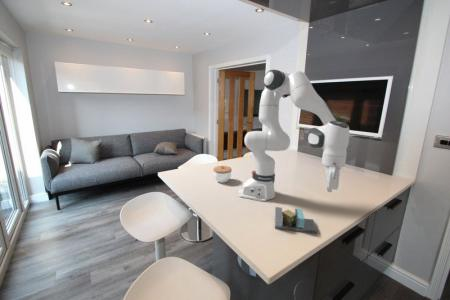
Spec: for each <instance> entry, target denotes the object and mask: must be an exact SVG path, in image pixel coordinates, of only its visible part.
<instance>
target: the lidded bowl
mask: <svg viewBox="0 0 450 300" xmlns="http://www.w3.org/2000/svg"><path fill="white" fill-rule="evenodd" d="M232 170H233V169H232V167H231V166H227V165H217V166H214V167H213V177H214V179H215V180H216V181H217V182H218V183H220V184H223V183H228V181H229V180H230V179H231V176H232Z"/></svg>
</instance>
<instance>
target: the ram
mask: <svg viewBox="0 0 450 300" xmlns="http://www.w3.org/2000/svg"><path fill="white" fill-rule="evenodd" d="M294 213H295V214H297V215H296V226H297V227H299V228H304V221H305V219H306V218H305V215H304V212H303V209H301V208H295V210H294Z"/></svg>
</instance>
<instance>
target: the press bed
mask: <svg viewBox="0 0 450 300" xmlns="http://www.w3.org/2000/svg"><path fill="white" fill-rule="evenodd" d="M282 212H283V207H278V206H275V208H274V228H275V229H276V230H285V231H292V232H300V233H301V232H302V233H311V234H316V235H317V234H318V228H317V227H316V224H315V220H314V219H312V218H305V221H304V228H299V227H297V226H296V223H295V224H292V225H290V226H289V225H288V224H286V223H285V222H283V214H282Z"/></svg>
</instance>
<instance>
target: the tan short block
mask: <svg viewBox="0 0 450 300" xmlns="http://www.w3.org/2000/svg"><path fill="white" fill-rule="evenodd" d="M282 214H283V222H285V223H286V224H288V225H289V226H290V225H292V224H295V223H296V215H297V214H295V212H293V211H292V210H290V209H285V210H282Z"/></svg>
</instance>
